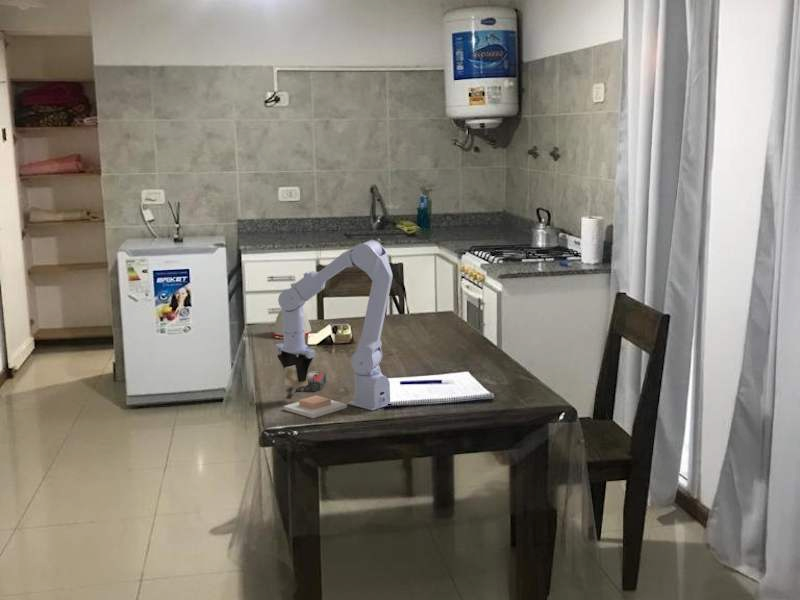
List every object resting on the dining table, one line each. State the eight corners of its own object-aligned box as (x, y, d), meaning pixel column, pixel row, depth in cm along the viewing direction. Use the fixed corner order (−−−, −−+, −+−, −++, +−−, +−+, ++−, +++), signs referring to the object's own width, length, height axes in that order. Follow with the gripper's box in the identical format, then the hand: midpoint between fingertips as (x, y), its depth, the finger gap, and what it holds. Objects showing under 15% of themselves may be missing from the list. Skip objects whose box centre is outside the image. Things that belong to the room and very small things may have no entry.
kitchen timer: (269, 334, 347) (267, 294, 344) (304, 330, 352) (302, 291, 350) (280, 341, 334) (278, 300, 332) (316, 337, 340) (314, 296, 337)
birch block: (308, 384, 256) (307, 367, 255) (295, 388, 253) (294, 370, 252) (297, 382, 259) (296, 364, 258) (285, 385, 256) (284, 367, 255)
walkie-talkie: (298, 381, 279) (287, 399, 260) (297, 367, 279) (286, 384, 259) (327, 380, 279) (318, 399, 259) (327, 366, 278) (318, 383, 259)
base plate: (347, 407, 249) (346, 398, 248) (312, 418, 240) (312, 408, 240) (317, 399, 257) (317, 391, 257) (283, 409, 249) (283, 400, 248)
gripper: (322, 332, 251) (324, 381, 254) (288, 326, 261) (290, 373, 264) (302, 336, 246) (304, 386, 249) (268, 330, 256) (271, 378, 259)
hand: (296, 379), depth 256 cm, fingers closed on birch block, 4 cm apart
